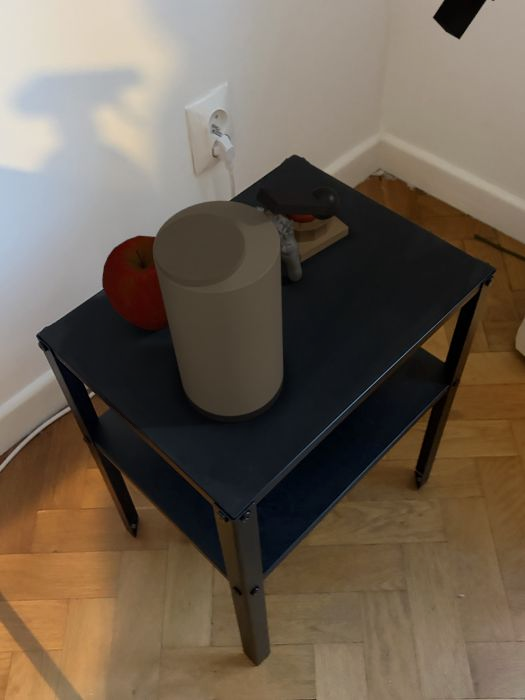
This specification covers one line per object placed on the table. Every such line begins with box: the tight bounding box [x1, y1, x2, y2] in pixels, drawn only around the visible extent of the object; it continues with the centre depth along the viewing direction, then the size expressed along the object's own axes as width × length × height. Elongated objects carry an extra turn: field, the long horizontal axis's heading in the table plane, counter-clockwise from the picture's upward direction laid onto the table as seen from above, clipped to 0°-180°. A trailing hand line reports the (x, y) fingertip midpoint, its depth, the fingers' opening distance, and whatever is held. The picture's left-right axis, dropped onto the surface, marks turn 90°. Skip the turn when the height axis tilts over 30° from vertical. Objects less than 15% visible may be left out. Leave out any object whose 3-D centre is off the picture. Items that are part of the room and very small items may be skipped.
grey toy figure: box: [253, 205, 303, 282], centre depth 77 cm, size 9×12×8 cm
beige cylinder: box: [153, 200, 284, 423], centre depth 64 cm, size 10×10×20 cm
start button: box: [287, 189, 316, 223], centre depth 81 cm, size 4×4×2 cm
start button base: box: [264, 209, 349, 264], centre depth 83 cm, size 8×7×3 cm
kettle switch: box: [255, 185, 341, 220], centre depth 60 cm, size 3×8×3 cm
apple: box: [101, 235, 169, 331], centre depth 73 cm, size 9×8×11 cm
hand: (446, 28), depth 57 cm, fingers closed
